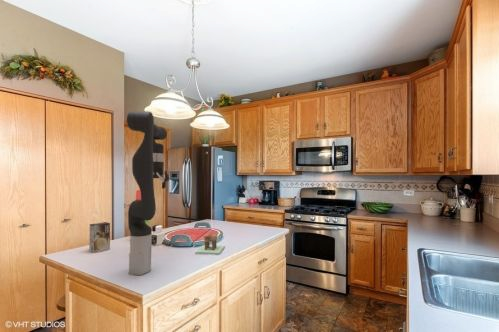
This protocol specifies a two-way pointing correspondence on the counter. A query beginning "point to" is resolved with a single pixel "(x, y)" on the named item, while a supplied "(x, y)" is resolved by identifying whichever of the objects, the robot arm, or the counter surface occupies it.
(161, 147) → the robot arm
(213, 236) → the walnut stool
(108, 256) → the counter surface
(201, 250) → the sage mat
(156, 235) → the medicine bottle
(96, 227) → the coffee box
